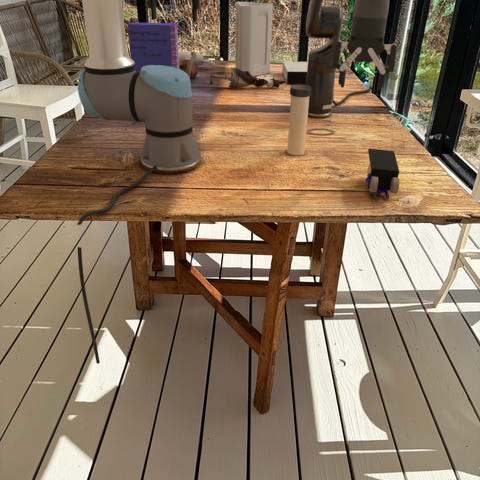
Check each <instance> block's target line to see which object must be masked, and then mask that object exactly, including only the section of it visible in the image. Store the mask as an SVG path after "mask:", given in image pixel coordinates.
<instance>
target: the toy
mask: <svg viewBox="0 0 480 480" xmlns="http://www.w3.org/2000/svg"><path fill="white" fill-rule="evenodd" d="M178 52H179V62H180V61H181V59H183V58H185V59H189V60H190V59H191V57H192V55H191V52H187V51H178ZM194 52H195V53H196V59H195V61H194V62H195V64H196V66H197V68H198V69H199V66H202V65H204V64H209V65H210V66H211V67H213V68H214V67H217V66H216V63H215V62H214V61H213V60H211V59H209V58H206V59H205V57H204V56H203V55H201V54H198V52H197V51H194Z"/></svg>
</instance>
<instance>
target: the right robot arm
mask: <svg viewBox="0 0 480 480" xmlns="http://www.w3.org/2000/svg"><path fill="white" fill-rule="evenodd" d="M323 1H324V0H309V3H308V9H307V15H306V21H305V33H306V36H307V37H308V38H310V39H323V40H325V39H328V40H327V41H326V42H325V43H324V44H322V45H321V46H318V47H316V48H314V49H311V50H310V51H309V52H308V56H307V62H308V67H307V79H306V84H305V85H307V86H310V87H311V95H310V96H309V107H308V117H309V118H310V117H311V118H318V119H319V118H320V119H321V118H328V117H330V116H332V109H333V108H332V107H333V105H334V106H340V105H341V104H343V103H344V102H345V101H347V100H348V99H349V98H350V97H351V96H353V95H358V94H359V95H360V94H366V93H369V92H371V90H374V87H373V86H372V85H370V86H369V87H368V89H365V90H358V91H352V92H350V93H348V94H347V95H346V96H345V97H343V99H341V101H339V102H337V101H335V99H334V97H335V94H334V90H335V82H336V81H335V80H336V73H337V71H338V72H339V74H338V85H339V86H340V88H345V85H346V78H347V77H346V75H347V70H346V69H347V68H348V67H349V66H350V64H351V63H352V62H353V61H354V62H356V63H366V64H371V63H374V65H375V67H376V68H377V69H378V71H379V73H378V77H377V78H378V79H377V85H376V91H380V90H381V89H383V87H384V85H385V78H386V74H389V73H393V72H394V71H395V66H396V65H395V64H396V58H397V56H396V55H397V46H398V45H397V43H395V42H392V43H390V44H389V43H387V44H386V43H385V35H386V34H385V33H386V27H387V21H388V15H389V8H390V0H355V1H354V6H353V11H352V20H351V21H352V22H351V30H350V38H349V41H343V40H341V34H342V29H343V20H344V12H343V9H342V7H341V6H339V5H322V4H323ZM346 48H347V50H348V51H349V56H348V57H347V58H346V60H344V61H343V63H341V62H340V58H341V52H343V51H344V50H345V49H346ZM384 50H385V51H386V54H387V55H389V62H388V65H387V66H385V64H384V63H383V60H382V58H381V57H380V55H381V54H382V53H383V52H384Z"/></svg>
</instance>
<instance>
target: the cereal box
mask: <svg viewBox="0 0 480 480" xmlns="http://www.w3.org/2000/svg"><path fill="white" fill-rule="evenodd" d="M126 25H127V34H128V43H129V44H128V45H129V56H130V58H131V59H132V60H133V61H134V62H135V71H136V72H140V70H141V68H142V67H144V66H147V65H156V66H158V65H163V66H169V67H174V68H177V69H179V52H180V51H179V35H178V23H175V22H174V23H171V22H170V23H169V22H133V21H131V22H130V21H129V22H128V23H127V24H126Z"/></svg>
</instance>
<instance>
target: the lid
mask: <svg viewBox="0 0 480 480" xmlns="http://www.w3.org/2000/svg"><path fill="white" fill-rule="evenodd" d="M289 95H290V96H291V95H292V96H296V97H307V96H310V95H311V87H310V86H307V85H306V84H291V85H290V87H289Z"/></svg>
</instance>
